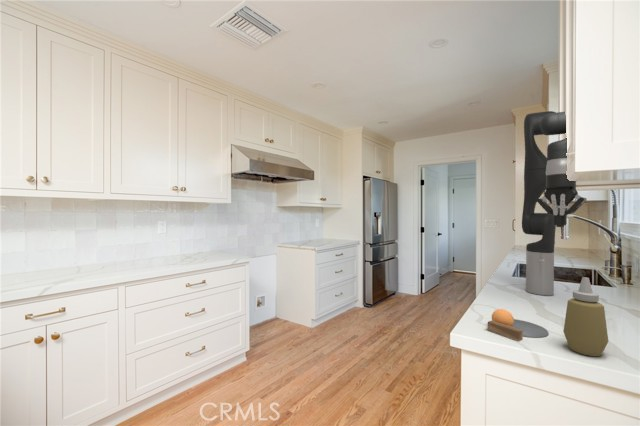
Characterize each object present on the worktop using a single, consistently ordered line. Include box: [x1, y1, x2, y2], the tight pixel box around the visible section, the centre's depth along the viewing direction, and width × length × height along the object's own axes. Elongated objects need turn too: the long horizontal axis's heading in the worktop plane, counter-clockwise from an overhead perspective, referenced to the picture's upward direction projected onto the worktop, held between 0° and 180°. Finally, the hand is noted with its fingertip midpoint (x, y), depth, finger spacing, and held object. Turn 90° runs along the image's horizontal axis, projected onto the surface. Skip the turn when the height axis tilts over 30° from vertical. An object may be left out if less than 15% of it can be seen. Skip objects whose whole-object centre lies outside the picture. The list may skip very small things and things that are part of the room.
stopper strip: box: [487, 319, 523, 342], centre depth 79 cm, size 2×8×2 cm, turn 32°
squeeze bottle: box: [563, 276, 609, 357], centre depth 70 cm, size 8×8×18 cm
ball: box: [491, 308, 514, 327], centre depth 83 cm, size 6×6×6 cm
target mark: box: [512, 318, 549, 339], centre depth 84 cm, size 13×13×1 cm
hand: (560, 226), depth 93 cm, fingers closed
